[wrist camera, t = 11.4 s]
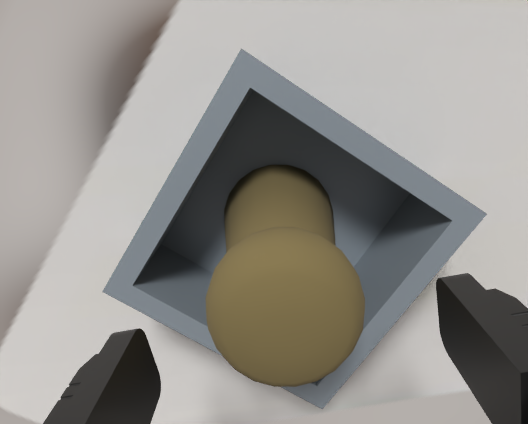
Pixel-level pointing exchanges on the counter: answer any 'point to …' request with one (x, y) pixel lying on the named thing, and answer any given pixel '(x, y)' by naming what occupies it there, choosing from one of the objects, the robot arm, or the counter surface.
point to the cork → (283, 282)
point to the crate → (334, 182)
